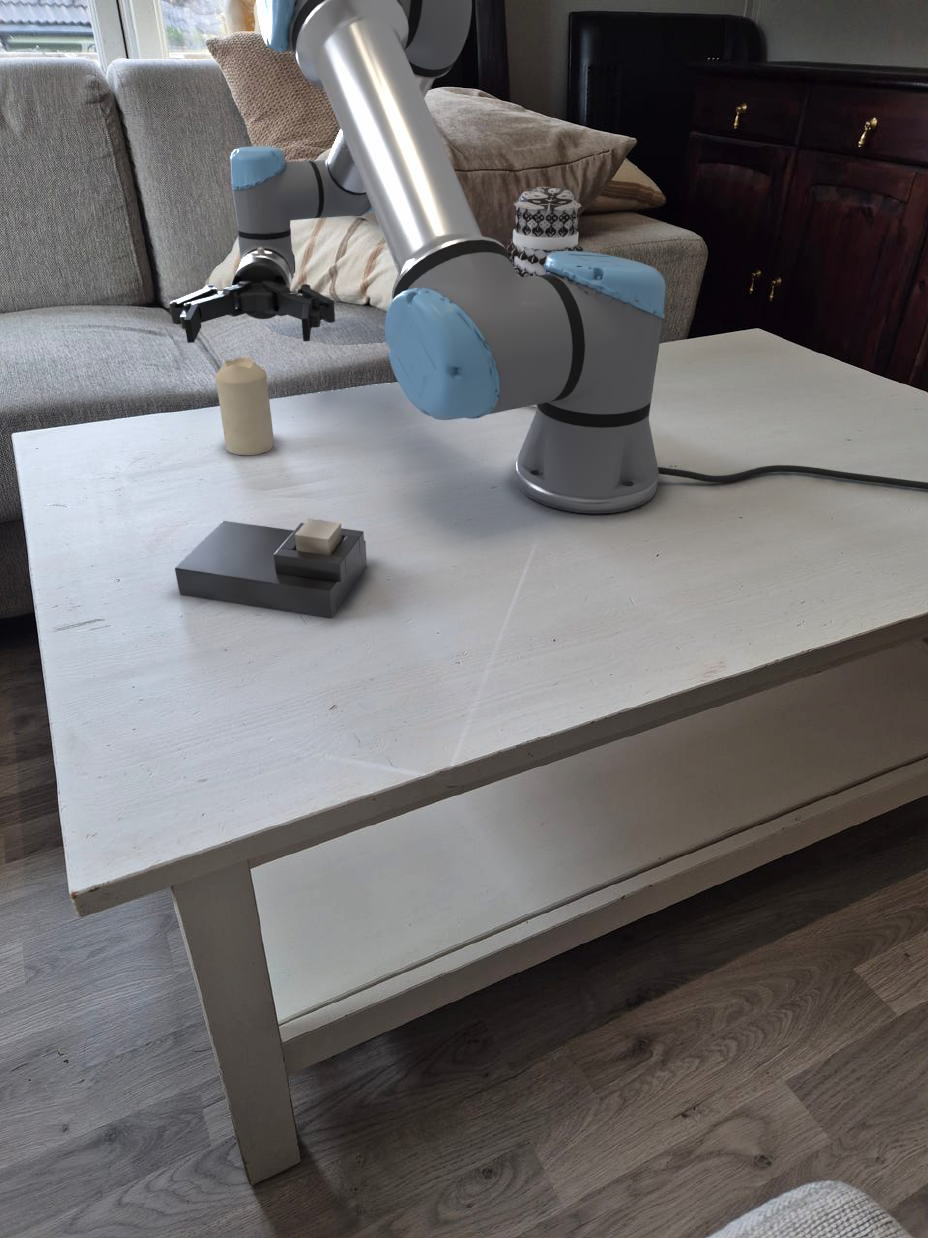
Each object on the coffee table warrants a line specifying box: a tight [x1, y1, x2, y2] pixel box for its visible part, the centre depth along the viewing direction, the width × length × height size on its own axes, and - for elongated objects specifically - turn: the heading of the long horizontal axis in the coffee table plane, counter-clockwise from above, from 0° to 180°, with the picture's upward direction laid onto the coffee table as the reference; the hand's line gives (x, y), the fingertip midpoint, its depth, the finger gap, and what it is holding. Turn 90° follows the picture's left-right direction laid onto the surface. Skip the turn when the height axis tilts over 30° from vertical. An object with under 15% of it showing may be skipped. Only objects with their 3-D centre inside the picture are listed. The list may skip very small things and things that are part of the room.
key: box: [295, 518, 342, 556], centre depth 75 cm, size 3×3×2 cm
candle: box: [215, 357, 275, 456], centre depth 100 cm, size 6×6×10 cm
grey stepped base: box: [174, 520, 368, 619], centre depth 78 cm, size 14×9×4 cm, turn 76°
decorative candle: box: [506, 186, 584, 408], centre depth 112 cm, size 9×9×25 cm
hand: (247, 330), depth 105 cm, fingers open, 13 cm apart
